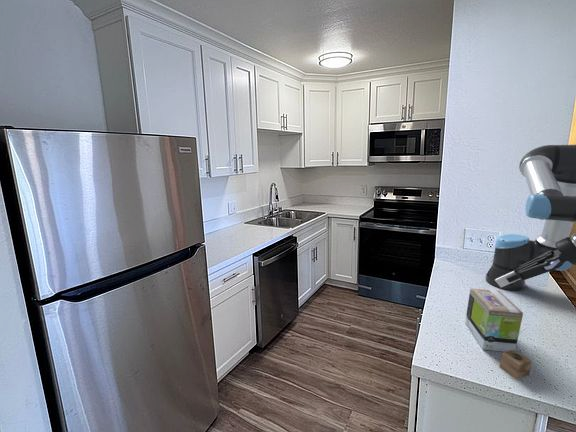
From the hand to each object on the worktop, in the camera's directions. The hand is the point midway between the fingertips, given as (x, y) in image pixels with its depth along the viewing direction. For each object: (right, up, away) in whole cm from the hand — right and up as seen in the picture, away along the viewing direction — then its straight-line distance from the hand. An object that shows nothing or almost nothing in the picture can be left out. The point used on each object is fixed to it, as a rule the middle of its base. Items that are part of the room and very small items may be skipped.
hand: (498, 283), depth 97 cm
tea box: (0, -20, +5) cm, 21 cm away
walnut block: (-2, -24, -10) cm, 26 cm away
